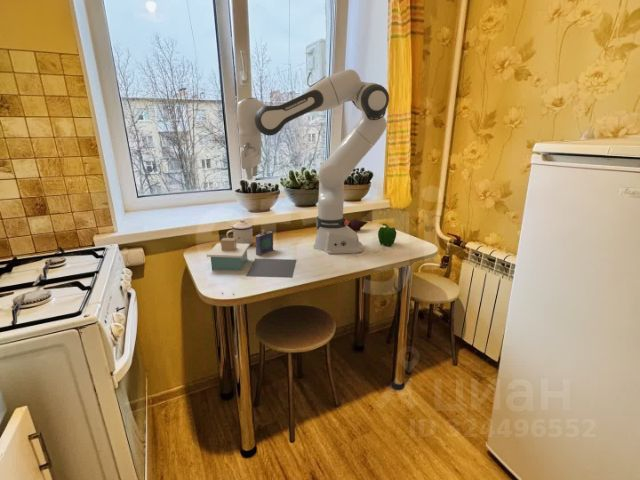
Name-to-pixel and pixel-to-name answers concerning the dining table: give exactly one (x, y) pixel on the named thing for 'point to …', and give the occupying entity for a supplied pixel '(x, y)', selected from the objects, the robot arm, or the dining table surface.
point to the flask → (264, 242)
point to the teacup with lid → (242, 232)
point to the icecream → (356, 224)
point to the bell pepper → (386, 235)
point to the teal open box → (228, 263)
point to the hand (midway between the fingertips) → (252, 177)
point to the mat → (272, 268)
